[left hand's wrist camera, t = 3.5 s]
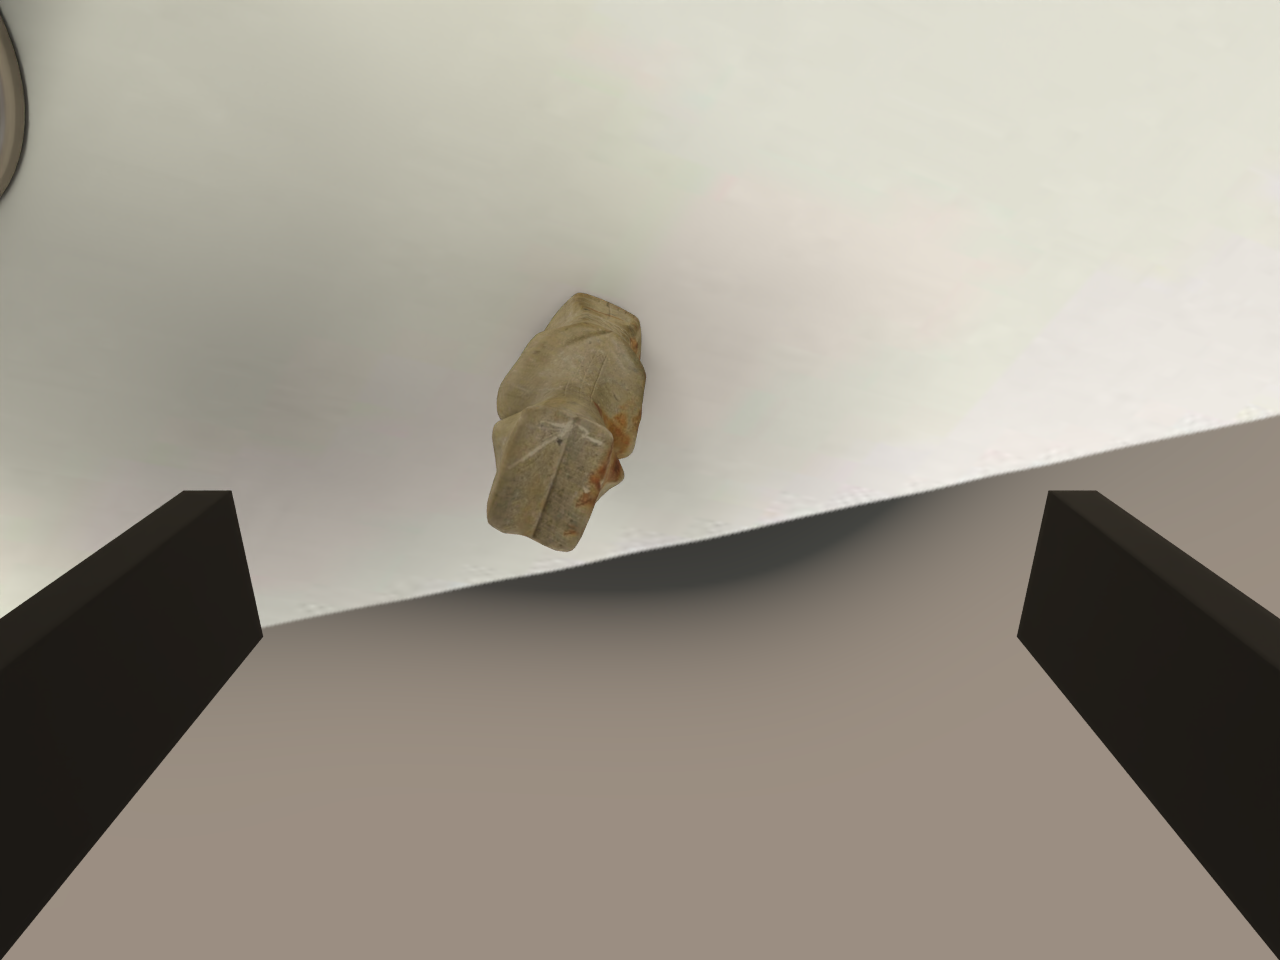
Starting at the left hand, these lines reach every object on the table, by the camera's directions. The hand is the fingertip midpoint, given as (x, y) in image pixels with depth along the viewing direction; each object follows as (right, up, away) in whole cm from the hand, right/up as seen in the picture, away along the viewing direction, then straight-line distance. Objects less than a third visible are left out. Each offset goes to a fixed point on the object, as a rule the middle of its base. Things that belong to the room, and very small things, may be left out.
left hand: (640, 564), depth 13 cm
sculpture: (-3, +8, +26) cm, 28 cm away
